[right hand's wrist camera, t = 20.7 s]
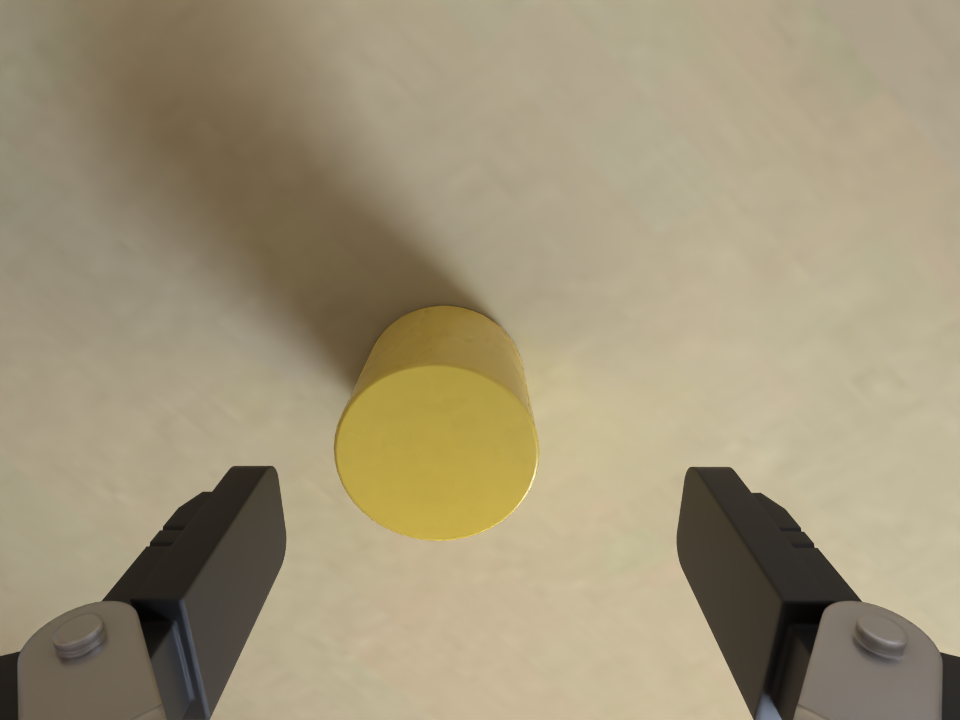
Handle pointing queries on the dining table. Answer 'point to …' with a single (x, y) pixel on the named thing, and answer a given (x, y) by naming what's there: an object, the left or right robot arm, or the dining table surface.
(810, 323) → the dining table surface
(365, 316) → the dining table surface
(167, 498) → the dining table surface
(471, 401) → the cylinder
